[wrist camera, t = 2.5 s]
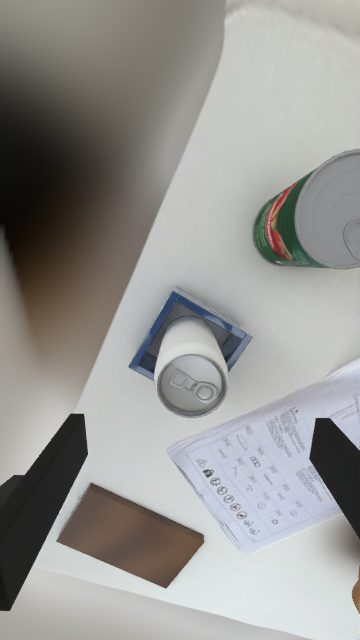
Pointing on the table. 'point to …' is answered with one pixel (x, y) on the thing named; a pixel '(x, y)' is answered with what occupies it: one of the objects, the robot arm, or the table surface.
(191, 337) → the can
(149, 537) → the board
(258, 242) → the canned tomato
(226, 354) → the holder
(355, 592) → the jug
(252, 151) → the table surface
